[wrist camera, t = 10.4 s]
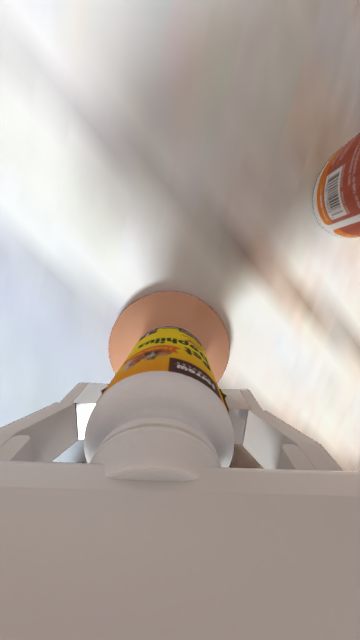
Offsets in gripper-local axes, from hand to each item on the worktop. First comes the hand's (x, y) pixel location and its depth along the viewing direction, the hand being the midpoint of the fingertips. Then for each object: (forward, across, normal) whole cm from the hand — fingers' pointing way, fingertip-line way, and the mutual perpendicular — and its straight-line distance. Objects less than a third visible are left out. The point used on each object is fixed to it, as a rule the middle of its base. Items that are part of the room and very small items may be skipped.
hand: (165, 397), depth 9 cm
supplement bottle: (+5, 0, 0) cm, 5 cm away
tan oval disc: (+6, 0, 0) cm, 7 cm away
